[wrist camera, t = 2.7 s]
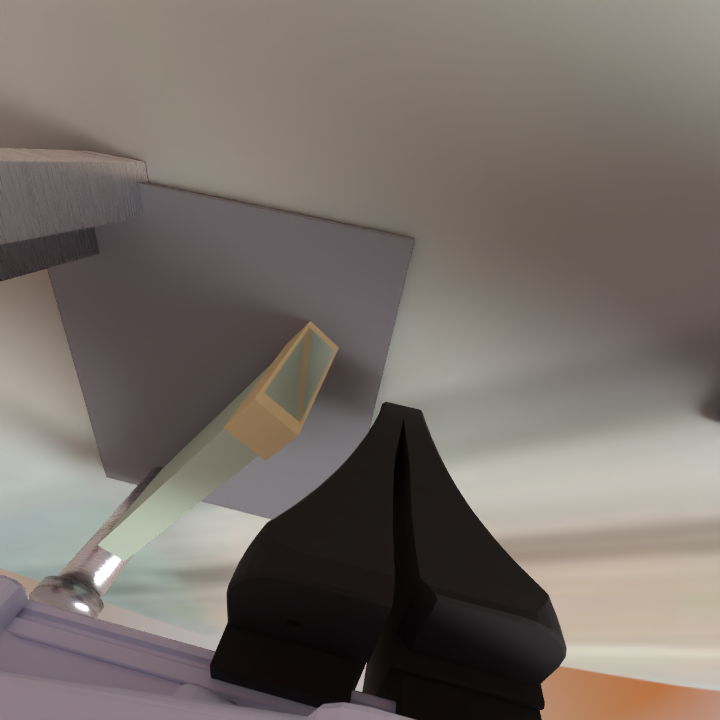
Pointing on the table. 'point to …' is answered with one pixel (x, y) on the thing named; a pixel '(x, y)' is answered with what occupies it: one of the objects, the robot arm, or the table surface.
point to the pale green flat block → (230, 441)
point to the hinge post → (89, 568)
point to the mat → (227, 332)
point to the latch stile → (61, 204)
